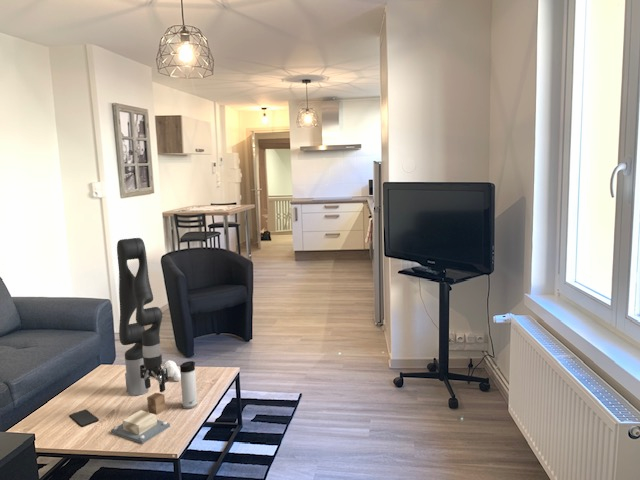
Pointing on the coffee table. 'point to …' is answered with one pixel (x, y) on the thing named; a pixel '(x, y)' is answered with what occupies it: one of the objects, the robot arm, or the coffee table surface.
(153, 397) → the walnut block
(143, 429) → the birch plinth
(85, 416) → the smartphone
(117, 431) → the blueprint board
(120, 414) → the coffee table surface
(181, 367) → the travel mug
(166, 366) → the white lumpy piece
